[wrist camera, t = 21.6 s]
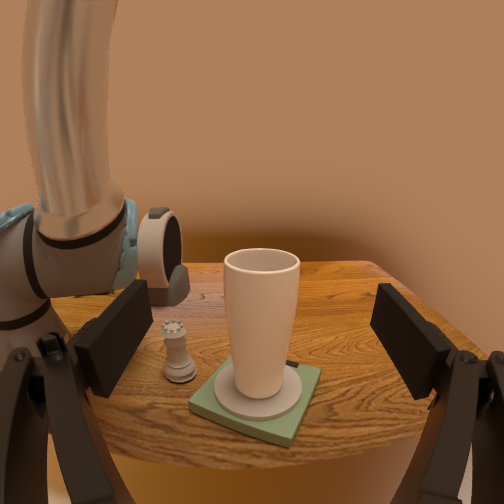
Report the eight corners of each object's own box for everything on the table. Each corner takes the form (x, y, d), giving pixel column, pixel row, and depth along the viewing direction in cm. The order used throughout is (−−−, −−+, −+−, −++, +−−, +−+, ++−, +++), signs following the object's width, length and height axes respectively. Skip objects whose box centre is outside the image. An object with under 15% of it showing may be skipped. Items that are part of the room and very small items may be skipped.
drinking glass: (244, 414, 24) (243, 278, 20) (219, 375, 30) (212, 252, 25) (300, 392, 27) (317, 264, 23) (269, 360, 33) (275, 244, 28)
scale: (189, 411, 27) (186, 395, 26) (238, 357, 37) (237, 341, 37) (289, 448, 22) (292, 434, 21) (319, 379, 33) (323, 363, 32)
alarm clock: (180, 311, 50) (172, 214, 44) (131, 308, 50) (118, 215, 44) (195, 278, 65) (191, 201, 60) (155, 277, 65) (149, 203, 60)
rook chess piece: (159, 370, 34) (148, 321, 31) (186, 359, 36) (179, 311, 34) (174, 389, 30) (164, 338, 28) (203, 375, 33) (198, 326, 31)
